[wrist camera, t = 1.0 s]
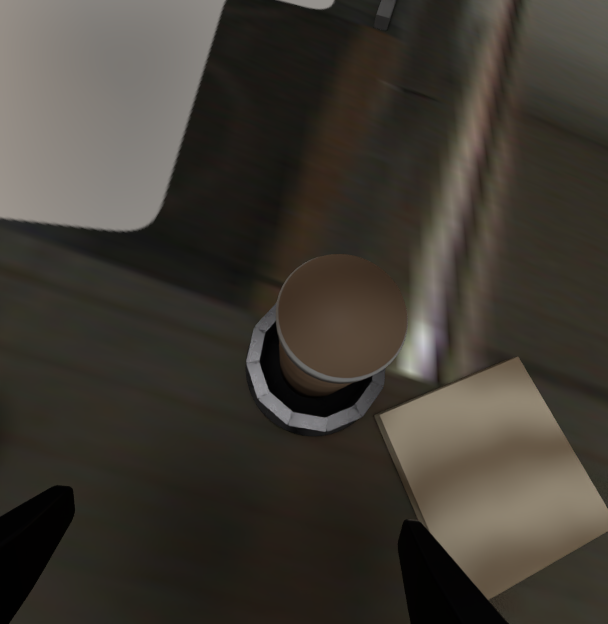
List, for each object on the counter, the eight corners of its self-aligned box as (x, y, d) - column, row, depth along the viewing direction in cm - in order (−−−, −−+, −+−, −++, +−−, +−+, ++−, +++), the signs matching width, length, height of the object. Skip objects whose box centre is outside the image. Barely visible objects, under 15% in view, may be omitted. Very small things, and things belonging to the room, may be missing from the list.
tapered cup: (358, 385, 23) (433, 351, 12) (292, 411, 22) (304, 401, 11) (332, 321, 25) (375, 237, 13) (269, 343, 24) (257, 273, 12)
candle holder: (397, 405, 24) (419, 402, 20) (272, 457, 22) (270, 465, 18) (345, 290, 27) (355, 269, 23) (230, 328, 25) (222, 312, 21)
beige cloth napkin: (596, 518, 22) (617, 525, 21) (451, 599, 20) (465, 613, 19) (505, 360, 26) (518, 356, 24) (373, 415, 23) (379, 414, 22)
